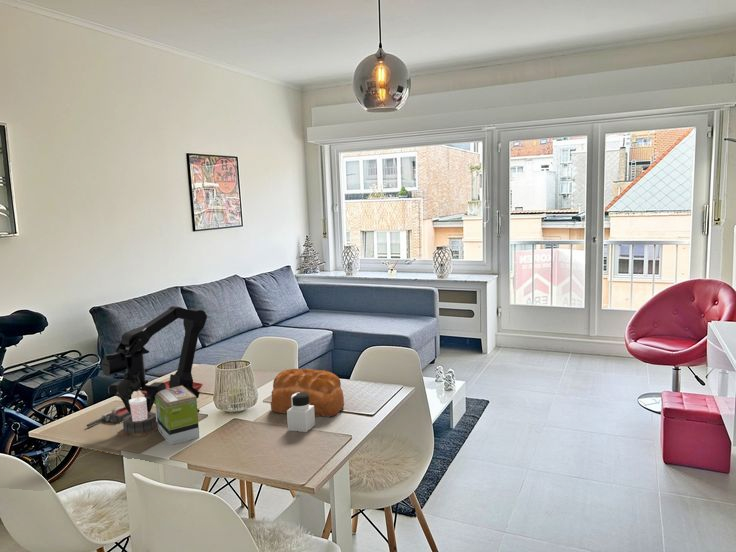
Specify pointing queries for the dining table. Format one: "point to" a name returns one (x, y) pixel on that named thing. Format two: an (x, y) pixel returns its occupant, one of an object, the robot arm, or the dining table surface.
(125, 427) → the cup holder
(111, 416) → the walkie-talkie
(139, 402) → the beverage cup
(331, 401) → the bread
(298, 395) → the medicine bottle
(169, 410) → the tea box
